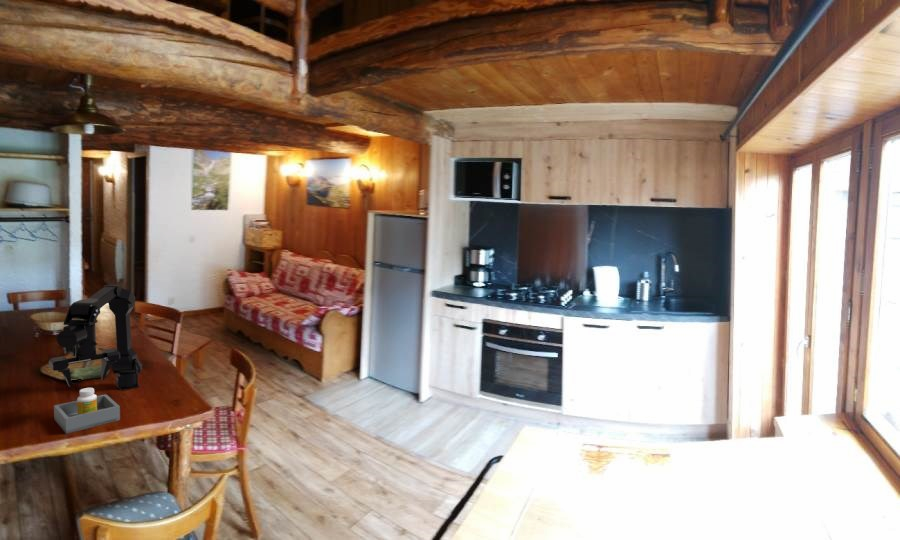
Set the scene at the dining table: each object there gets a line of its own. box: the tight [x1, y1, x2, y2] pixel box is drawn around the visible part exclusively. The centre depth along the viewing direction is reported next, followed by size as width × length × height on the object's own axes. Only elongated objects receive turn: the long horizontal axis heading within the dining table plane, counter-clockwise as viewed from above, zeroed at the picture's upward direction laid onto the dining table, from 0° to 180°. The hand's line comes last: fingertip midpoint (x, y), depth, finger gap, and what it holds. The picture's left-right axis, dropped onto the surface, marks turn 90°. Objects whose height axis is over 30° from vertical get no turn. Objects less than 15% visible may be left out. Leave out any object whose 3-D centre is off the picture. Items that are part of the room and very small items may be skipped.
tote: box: [53, 394, 121, 435], centre depth 166 cm, size 15×14×5 cm
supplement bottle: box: [76, 387, 98, 415], centre depth 165 cm, size 5×5×10 cm
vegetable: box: [70, 365, 111, 381], centre depth 201 cm, size 14×5×5 cm, turn 130°
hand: (86, 382), depth 165 cm, fingers open, 9 cm apart
